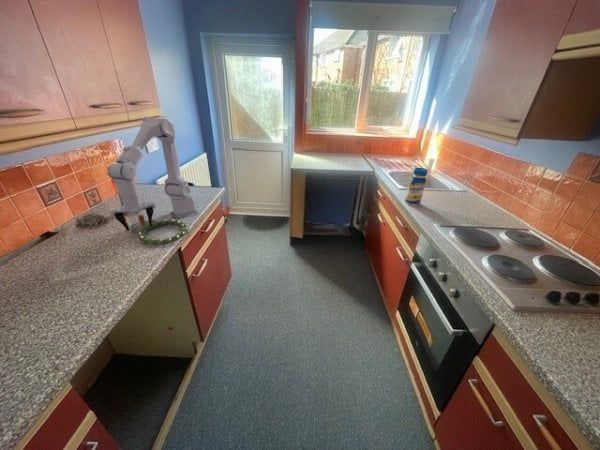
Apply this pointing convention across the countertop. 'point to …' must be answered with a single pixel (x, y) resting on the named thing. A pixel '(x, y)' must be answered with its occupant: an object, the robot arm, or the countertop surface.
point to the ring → (160, 223)
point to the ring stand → (141, 220)
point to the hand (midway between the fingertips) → (139, 227)
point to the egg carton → (93, 220)
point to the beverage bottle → (416, 186)
